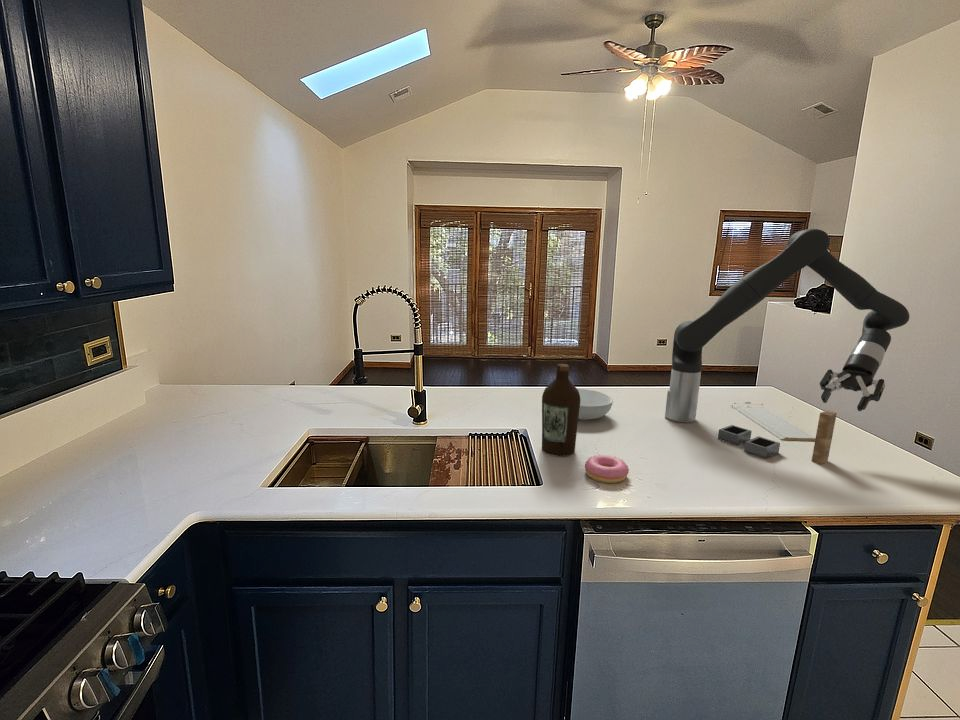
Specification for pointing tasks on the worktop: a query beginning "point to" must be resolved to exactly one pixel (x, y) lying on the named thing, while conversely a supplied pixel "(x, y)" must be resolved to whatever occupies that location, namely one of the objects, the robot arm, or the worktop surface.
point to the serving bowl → (593, 404)
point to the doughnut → (606, 469)
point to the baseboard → (774, 423)
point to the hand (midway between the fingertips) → (841, 405)
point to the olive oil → (560, 414)
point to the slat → (824, 437)
